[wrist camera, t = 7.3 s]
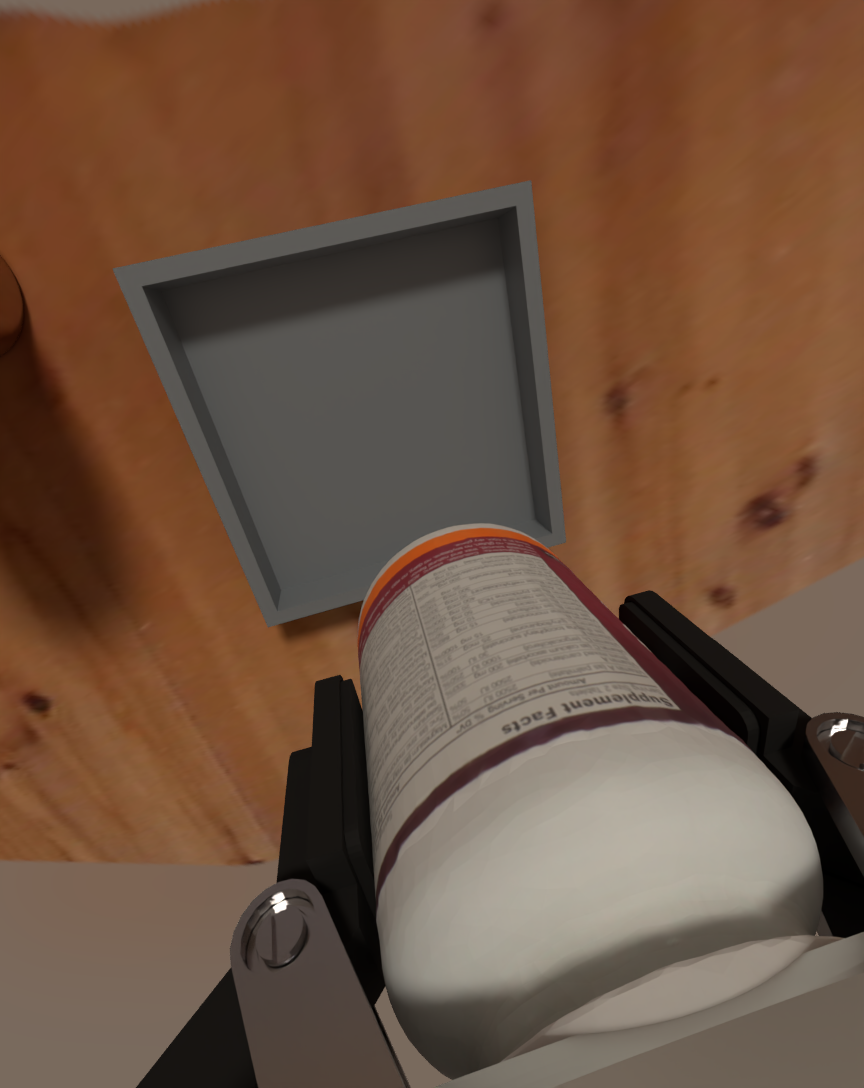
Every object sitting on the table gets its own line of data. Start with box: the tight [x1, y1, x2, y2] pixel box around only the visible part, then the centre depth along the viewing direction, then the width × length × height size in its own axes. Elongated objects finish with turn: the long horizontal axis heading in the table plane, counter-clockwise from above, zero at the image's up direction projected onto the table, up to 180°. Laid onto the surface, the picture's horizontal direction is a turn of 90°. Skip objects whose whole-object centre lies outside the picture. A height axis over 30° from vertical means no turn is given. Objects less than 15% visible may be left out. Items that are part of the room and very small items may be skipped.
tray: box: [113, 181, 566, 627], centre depth 26 cm, size 18×18×3 cm
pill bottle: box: [358, 523, 845, 1080], centre depth 9 cm, size 6×6×11 cm
